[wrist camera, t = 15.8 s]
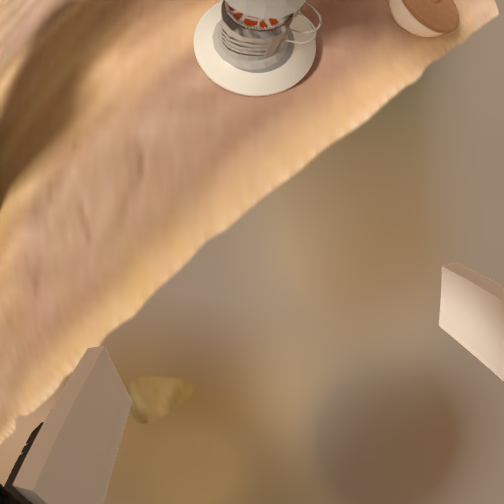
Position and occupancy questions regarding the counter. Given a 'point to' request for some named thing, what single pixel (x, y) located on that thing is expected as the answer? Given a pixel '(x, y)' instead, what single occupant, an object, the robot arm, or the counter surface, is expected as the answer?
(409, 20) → the lidded jar
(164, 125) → the counter surface
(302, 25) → the disc
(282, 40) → the french press
